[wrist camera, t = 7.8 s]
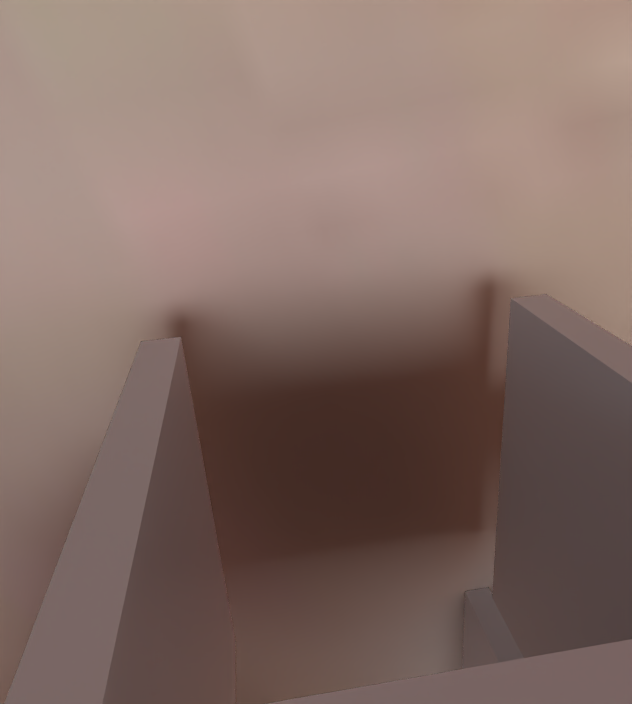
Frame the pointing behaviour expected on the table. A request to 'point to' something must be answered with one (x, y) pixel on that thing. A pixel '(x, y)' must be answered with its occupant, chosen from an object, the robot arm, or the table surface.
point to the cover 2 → (485, 632)
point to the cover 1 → (207, 573)
